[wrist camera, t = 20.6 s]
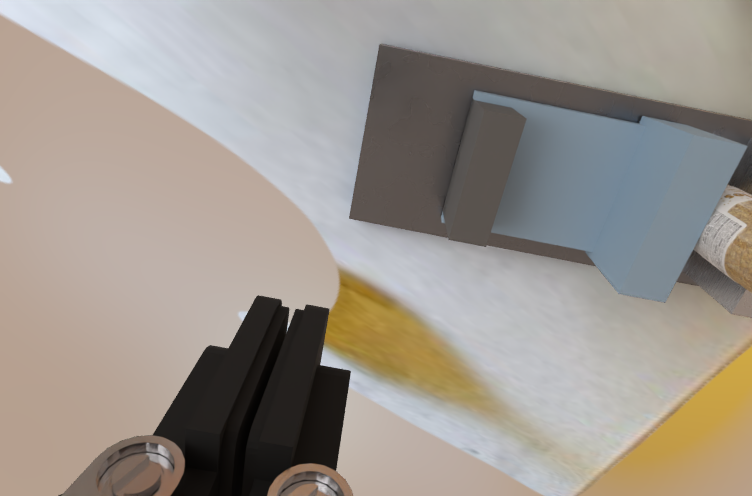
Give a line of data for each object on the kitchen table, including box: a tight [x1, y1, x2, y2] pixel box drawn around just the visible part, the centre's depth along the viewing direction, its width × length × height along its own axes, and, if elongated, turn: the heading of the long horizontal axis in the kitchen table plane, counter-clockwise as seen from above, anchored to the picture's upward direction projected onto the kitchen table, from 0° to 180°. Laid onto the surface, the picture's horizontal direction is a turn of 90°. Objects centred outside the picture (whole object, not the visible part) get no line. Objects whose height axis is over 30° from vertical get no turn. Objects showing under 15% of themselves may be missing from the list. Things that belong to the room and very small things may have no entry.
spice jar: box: [693, 184, 752, 293], centre depth 27 cm, size 5×5×13 cm
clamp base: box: [349, 44, 752, 318], centre depth 31 cm, size 30×12×8 cm, turn 79°
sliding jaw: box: [441, 90, 747, 303], centre depth 30 cm, size 14×10×6 cm
